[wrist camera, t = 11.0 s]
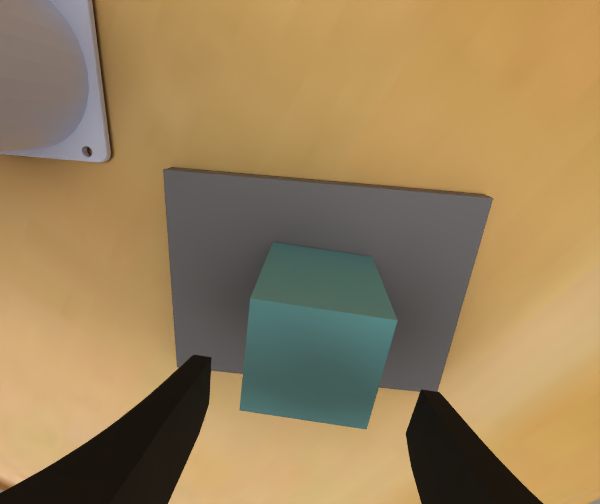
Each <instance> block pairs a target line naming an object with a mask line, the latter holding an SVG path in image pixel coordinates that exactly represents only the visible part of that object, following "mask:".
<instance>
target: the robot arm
mask: <svg viewBox="0 0 600 504" xmlns="http://www.w3.org/2000/svg"><path fill="white" fill-rule="evenodd" d="M88 147H89V148H90V149H91V150H92V155H91V156H90V155H89V154H88V152H87V148H88ZM0 154H4V155H16V156H27V157H39V158H50V159H62V160H74V161H85V162H97V163H100V162H106V161H108V160H109V159H110V157H111V150H110V142H109V134H108V126H107V118H106V110H105V102H104V93H103V85H102V77H101V69H100V61H99V53H98V45H97V37H96V29H95V21H94V12H93V4H92V0H0ZM211 359H212V357H207V356H200V355H192V356H191V357H190V358H189V359H188V360H187V361H186V362H185V363H184V364H183V365H182V366H181V367H179V368H178V369H177V370H176V371H175V372H174V373H173V374H172V375H171V376H170V377H169V378H168V379H167V380H166V381H164V382H163V383H162V384H161V385H160V386H159V387H158V388H156V389H155V390H154V391H153V392H152V393H151V394H150V395H148V396H147V397H146V398H145V399H144V400H143V401H141V402H140V403H139V404H138V405H136V406H135V407H134V408H133V409H131V410H130V411H129V412H128V413H126V414H125V415H124V416H123V417H121V418H120V419H119V420H117V421H116V422H115V423H113V424H112V425H111V426H109V427H108V428H107V429H105V430H104V431H102V432H101V433H99V434H98V435H97V436H95V437H94V438H92V439H91V440H89V441H88V442H86V443H85V444H83V445H82V446H80V447H79V448H77V449H76V450H74V451H72V452H71V453H69V454H68V455H66V456H65V457H63V458H61V459H60V460H58V461H57V462H55V463H53V464H52V465H50V466H48V467H47V468H45V469H43V470H42V471H40V472H38V473H36V474H34V475H33V476H31V477H29V478H27V479H25V480H24V481H22V482H20V483H18V484H16V485H14V486H13V487H11V488H9V489H7V490H5V491H3V492H2V493H0V504H168V502H169V500H170V498H171V495H172V493H173V491H174V489H175V486H176V484H177V482H178V480H179V478H180V475H181V473H182V471H183V469H184V466H185V464H186V462H187V460H188V458H189V455H190V453H191V451H192V449H193V446H194V444H195V442H196V440H197V437H198V435H199V432H200V429H201V426H202V423H203V421H204V417H205V414H206V411H207V408H208V405H209V395H210V377H211ZM406 438H407V444H408V451H409V457H410V462H411V467H412V471H413V475H414V478H415V482H416V485H417V489H418V493H419V496H420V500H421V503H422V504H543V503H542V502H541V501H540V500H539V499H538V498H537V497H536V496H534V495H533V494H532V493H531V492H530V491H529V490H528V489H527V488H526V487H525V486H524V485H523V484H522V483H521V482H520V481H519V480H518V479H517V478H516V477H515V476H514V475H513V474H512V473H511V472H510V470H509V469H508V468H507V467H506V466H505V465H504V464H503V463H502V462H501V461H500V460H499V459H498V458H497V457H496V456H495V455H494V454H493V453H492V451H491V450H490V449H489V448H488V447H487V446H486V445H485V444H484V443H483V441H482V440H481V439H480V438H479V437H478V436H477V435H476V434H475V432H474V431H473V430H472V429H471V428H470V427H469V426H468V424H467V423H466V422H465V421H464V420H463V419H462V417H461V416H460V415H459V414H458V413H457V412H456V411H455V409H454V408H453V407H452V406H451V405H450V404H449V402H448V401H447V400H446V399H445V398H444V397H443V396H442V395H441V394H440V392H436V391H429V390H423V389H421V392H420V394H419V397H418V400H417V403H416V406H415V409H414V412H413V414H412V417H411V420H410V423H409V426H408V429H407V431H406Z"/></svg>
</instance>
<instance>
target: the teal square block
mask: <svg viewBox="0 0 600 504" xmlns="http://www.w3.org/2000/svg"><path fill="white" fill-rule="evenodd" d="M397 321H398V320H397V318H396V315H395V313H394V310H393V308H392V305H391V303H390V300H389V298H388V295H387V293H386V290H385V288H384V285H383V283H382V280H381V278H380V275H379V273H378V270H377V268H376V265H375V263H374V260H373V257H370V256H363V255H356V254H350V253H343V252H336V251H330V250H323V249H316V248H309V247H303V246H296V245H289V244H283V243H276V242H273V243H272V245H271V248H270V250H269V253H268V255H267V258H266V260H265V263H264V265H263V268H262V270H261V273H260V275H259V278H258V280H257V283H256V285H255V288H254V290H253V293H252V295H251V298H250V306H249V317H248V327H247V338H246V348H245V359H244V370H243V380H242V391H241V401H240V410H241V411H248V412H254V413H261V414H268V415H274V416H281V417H288V418H294V419H301V420H308V421H314V422H321V423H328V424H334V425H341V426H348V427H354V428H361V429H367V426H368V422H369V419H370V415H371V412H372V408H373V405H374V401H375V398H376V394H377V391H378V387H379V384H380V380H381V377H382V373H383V370H384V366H385V363H386V359H387V356H388V352H389V349H390V345H391V342H392V338H393V335H394V331H395V328H396V324H397Z"/></svg>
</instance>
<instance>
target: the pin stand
mask: <svg viewBox="0 0 600 504" xmlns="http://www.w3.org/2000/svg"><path fill="white" fill-rule="evenodd" d="M163 172H164V187H165V201H166V215H167V230H168V244H169V258H170V272H171V287H172V301H173V315H174V330H175V344H176V358H177V367H181V366H182V365H183V364H184V363H185V362H186V361H187V360H188V359H189V358H190V357H191V356H192V355H200V356H207V357H212V359H211V371H221V372H231V373H241V374H243V370H244V359H245V348H246V338H247V327H248V317H249V306H250V298H251V295H252V293H253V290H254V288H255V285H256V283H257V280H258V278H259V275H260V273H261V270H262V268H263V265H264V263H265V260H266V258H267V255H268V253H269V250H270V248H271V245H272V243H273V242H276V243H283V244H289V245H296V246H303V247H309V248H316V249H323V250H330V251H336V252H343V253H350V254H356V255H363V256H370V257H373V260H374V263H375V265H376V268H377V270H378V273H379V275H380V278H381V280H382V283H383V285H384V288H385V290H386V293H387V295H388V298H389V300H390V303H391V305H392V308H393V310H394V313H395V315H396V318H397V320H398V321H397V324H396V328H395V331H394V335H393V338H392V342H391V345H390V349H389V352H388V356H387V359H386V363H385V366H384V370H383V373H382V377H381V380H380V384H379V387H380V388H390V389H399V390H409V391H419V392H421V389H423V390H429V391H436V392H437V391H438V387H439V384H440V380H441V377H442V373H443V370H444V367H445V363H446V360H447V356H448V353H449V349H450V346H451V342H452V339H453V335H454V332H455V328H456V325H457V322H458V318H459V315H460V311H461V308H462V304H463V301H464V297H465V294H466V290H467V287H468V283H469V280H470V277H471V273H472V270H473V266H474V263H475V259H476V256H477V252H478V249H479V245H480V242H481V238H482V235H483V232H484V228H485V225H486V221H487V218H488V214H489V211H490V207H491V204H492V200H493V198H491V197H489V196H487V195H484V194H476V193H464V192H452V191H441V190H429V189H418V188H406V187H394V186H383V185H371V184H360V183H348V182H336V181H325V180H313V179H302V178H290V177H278V176H267V175H255V174H244V173H232V172H221V171H209V170H197V169H186V168H174V167H171V168H168V169H164V170H163Z"/></svg>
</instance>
